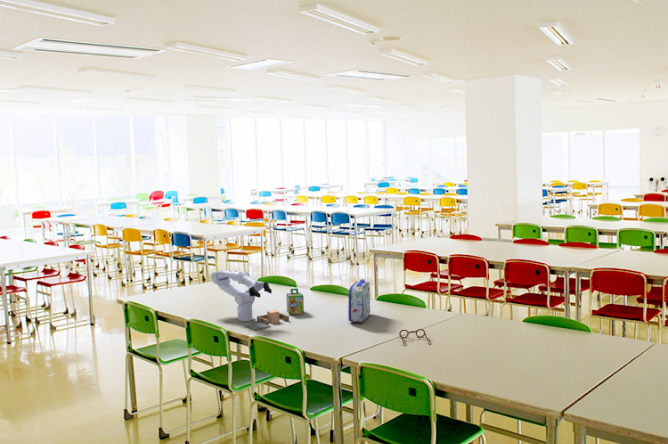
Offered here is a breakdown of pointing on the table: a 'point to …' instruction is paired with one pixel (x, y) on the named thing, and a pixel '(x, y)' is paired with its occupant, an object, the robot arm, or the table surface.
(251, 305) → the robot arm
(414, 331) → the glasses
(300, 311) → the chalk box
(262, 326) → the slate mat
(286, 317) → the walnut stall
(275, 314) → the terracotta block
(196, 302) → the table surface
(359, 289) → the lunch box
